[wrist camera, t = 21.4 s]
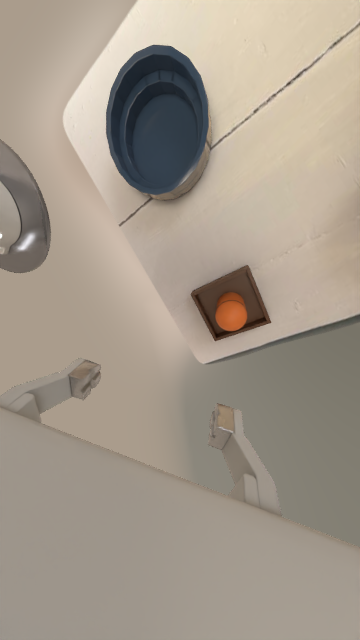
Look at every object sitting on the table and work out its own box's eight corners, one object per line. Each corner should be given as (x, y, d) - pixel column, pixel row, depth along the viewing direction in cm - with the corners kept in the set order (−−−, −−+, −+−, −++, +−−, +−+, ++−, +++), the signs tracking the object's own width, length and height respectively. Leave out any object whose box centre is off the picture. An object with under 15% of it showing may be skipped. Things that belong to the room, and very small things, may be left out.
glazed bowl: (123, 192, 32) (106, 185, 27) (126, 75, 25) (105, 40, 21) (199, 207, 30) (194, 202, 25) (223, 85, 23) (223, 49, 19)
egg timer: (213, 313, 36) (210, 331, 29) (220, 288, 34) (219, 302, 27) (239, 320, 36) (242, 340, 29) (248, 295, 33) (254, 311, 26)
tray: (215, 335, 39) (215, 341, 37) (192, 290, 36) (190, 294, 34) (268, 317, 35) (271, 322, 33) (247, 264, 32) (248, 266, 30)
